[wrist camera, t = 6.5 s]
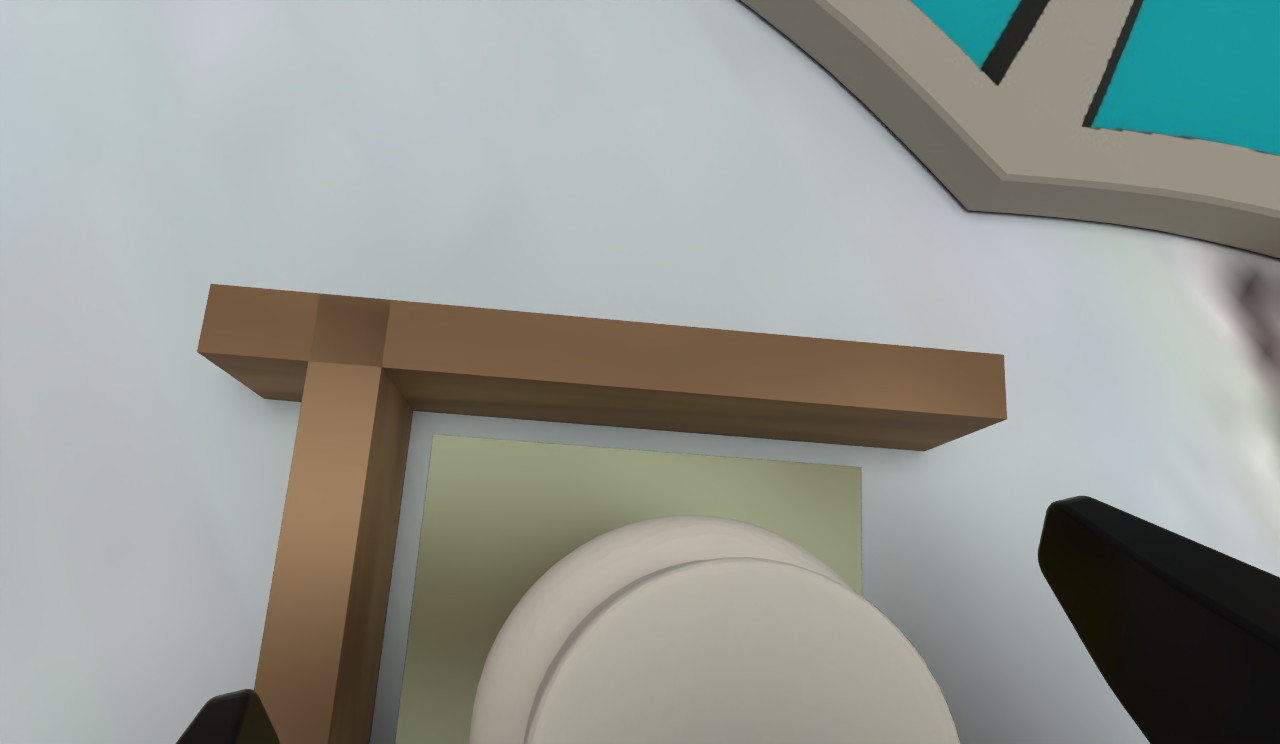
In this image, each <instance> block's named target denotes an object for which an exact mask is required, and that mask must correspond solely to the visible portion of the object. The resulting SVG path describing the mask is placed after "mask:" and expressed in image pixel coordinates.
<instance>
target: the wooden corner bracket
mask: <svg viewBox="0 0 1280 744" xmlns="http://www.w3.org/2000/svg"><path fill="white" fill-rule="evenodd" d="M197 352H198V353H200V354H201V355H202V356H204V357H205V358H207V359H208V360H210V361H211V362H212V363H214V364H215V365H217V366H218V367H220V368H221V369H222V370H224V371H225V372H227V373H228V374H230V375H231V376H233V377H234V378H235V379H237V380H238V381H240V382H241V383H243V384H244V385H245V386H247V387H248V388H250V389H251V390H253V391H254V392H255V393H257V394H258V395H260V396H261V397H263V398H264V399H275V400H287V401H300V402H302V404H301V410H300V416H299V422H298V428H297V434H296V440H295V446H294V452H293V458H292V464H291V470H290V476H289V482H288V488H287V494H286V500H285V506H284V512H283V518H282V524H281V530H280V536H279V542H278V548H277V554H276V560H275V566H274V572H273V578H272V584H271V590H270V597H269V603H268V609H267V615H266V621H265V627H264V633H263V639H262V645H261V651H260V657H259V663H258V669H257V675H256V681H255V687H254V691H255V692H256V693H257V694H258V696H259V697H260V699H261V702H262V704H263V706H264V708H265V710H266V712H267V714H268V716H269V718H270V720H271V723H272V725H273V727H274V729H275V731H276V733H277V735H278V738H279V741H280V744H369V742H370V735H371V727H372V719H373V712H374V704H375V697H376V689H377V681H378V674H379V666H380V658H381V651H382V643H383V636H384V628H385V620H386V613H387V605H388V597H389V590H390V582H391V575H392V567H393V559H394V552H395V544H396V537H397V529H398V521H399V514H400V506H401V498H402V491H403V483H404V476H405V468H406V460H407V453H408V445H409V438H410V430H411V422H412V415H413V410H414V411H426V412H439V413H451V414H464V415H477V416H489V417H502V418H515V419H527V420H540V421H552V422H565V423H578V424H590V425H603V426H615V427H628V428H641V429H653V430H666V431H679V432H691V433H704V434H716V435H729V436H742V437H754V438H767V439H779V440H792V441H805V442H817V443H830V444H842V445H855V446H868V447H880V448H893V449H906V450H918V451H926V450H929V449H932V448H934V447H937V446H939V445H942V444H944V443H947V442H950V441H952V440H955V439H957V438H960V437H962V436H965V435H968V434H970V433H973V432H975V431H978V430H980V429H983V428H986V427H988V426H991V425H993V424H996V423H998V422H1001V421H1003V420H1006V419H1007V410H1006V390H1005V370H1004V355H1000V354H989V353H978V352H966V351H955V350H944V349H933V348H922V347H911V346H899V345H888V344H877V343H866V342H855V341H843V340H832V339H821V338H810V337H799V336H788V335H776V334H765V333H754V332H743V331H732V330H721V329H709V328H698V327H687V326H676V325H665V324H654V323H642V322H631V321H620V320H609V319H598V318H587V317H575V316H564V315H553V314H542V313H531V312H519V311H508V310H497V309H486V308H475V307H464V306H452V305H441V304H430V303H419V302H408V301H397V300H385V299H374V298H363V297H352V296H341V295H330V294H318V293H307V292H296V291H285V290H274V289H263V288H251V287H240V286H229V285H218V284H211V285H210V290H209V295H208V300H207V305H206V310H205V315H204V320H203V325H202V330H201V335H200V340H199V345H198V350H197ZM676 515H702V516H713V517H721V518H728V519H734V520H738V521H742V522H746V523H749V524H752V525H755V526H759V527H762V528H764V529H767V530H770V531H772V532H774V533H776V534H778V535H780V536H783V537H785V538H787V539H788V540H790V541H792V542H794V543H796V544H797V545H799V546H801V547H802V548H804V549H806V550H807V551H809V552H810V553H812V554H813V555H815V556H816V557H818V558H819V559H820V560H822V561H823V562H824V563H825V564H827V565H828V566H829V567H830V568H831V569H833V570H834V571H835V572H836V573H837V574H838V575H839V576H840V577H841V578H842V579H843V580H844V581H845V582H846V583H847V584H848V585H849V586H850V587H851V588H852V589H853V591H854V592H855V593H856V594H858V595H860V596H861V597H862V470H861V467H851V466H838V465H825V464H812V463H799V462H786V461H773V460H760V459H747V458H734V457H721V456H708V455H695V454H682V453H669V452H657V451H644V450H631V449H618V448H605V447H592V446H579V445H566V444H553V443H540V442H527V441H514V440H501V439H488V438H475V437H462V436H449V435H436V434H433V440H432V449H431V457H430V465H429V473H428V481H427V489H426V497H425V505H424V513H423V521H422V529H421V537H420V545H419V553H418V561H417V569H416V577H415V585H414V593H413V602H412V610H411V618H410V626H409V634H408V642H407V650H406V658H405V666H404V674H403V682H402V690H401V698H400V706H399V714H398V722H397V730H396V738H395V744H469V738H470V727H471V719H472V712H473V706H474V701H475V697H476V692H477V688H478V683H479V681H480V678H481V675H482V671H483V668H484V664H485V661H486V659H487V656H488V654H489V652H490V650H491V647H492V645H493V643H494V641H495V639H496V637H497V635H498V633H499V631H500V629H501V628H502V626H503V625H504V623H505V621H506V620H507V618H508V617H509V615H510V613H511V612H512V610H513V609H514V608H515V606H516V605H517V604H518V602H519V601H520V600H521V598H522V597H523V596H524V594H525V593H526V592H527V591H528V590H529V589H530V588H531V587H532V585H533V584H534V583H535V582H536V581H537V580H538V579H539V578H540V577H541V576H542V575H543V574H544V573H546V572H547V571H548V570H549V569H550V568H551V567H552V566H553V565H555V564H556V563H557V562H558V561H559V560H561V559H562V558H563V557H565V556H566V555H568V554H569V553H571V552H572V551H574V550H575V549H577V548H579V547H580V546H582V545H583V544H585V543H587V542H589V541H590V540H592V539H594V538H595V537H597V536H599V535H602V534H604V533H606V532H608V531H611V530H614V529H617V528H620V527H622V526H625V525H628V524H631V523H635V522H639V521H642V520H647V519H653V518H658V517H666V516H676Z"/></svg>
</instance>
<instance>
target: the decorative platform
mask: <svg viewBox="0 0 1280 744" xmlns="http://www.w3.org/2000/svg"><path fill="white" fill-rule="evenodd" d="M740 1H742V2H743V3H744V4H746V5H747V6H748V7H750V8H751V9H752V10H754V11H755V12H756V13H758V14H759V15H760V16H762V17H763V18H764V19H765V20H767V21H768V22H769V23H770V24H772V25H773V26H774V27H776V28H777V29H778V30H779V31H781V32H782V33H783V34H785V35H786V36H787V37H788V38H790V39H791V40H792V41H793V42H795V43H796V44H797V45H798V46H799V47H801V48H802V49H803V50H804V51H805V52H807V53H808V54H809V55H810V56H811V57H813V58H814V59H815V60H816V61H817V62H818V63H820V64H821V65H822V66H823V67H824V68H826V69H827V70H828V71H829V72H830V73H831V74H832V75H834V76H835V77H836V78H837V79H838V80H839V81H840V82H841V83H842V84H843V85H844V86H845V87H847V88H848V89H849V90H850V91H851V92H852V93H853V94H854V95H855V96H856V97H857V98H859V99H860V100H861V101H862V102H863V103H864V104H865V105H866V106H867V107H868V108H869V109H870V110H871V111H872V112H873V113H874V114H875V115H876V116H877V117H878V118H879V119H880V120H881V121H882V122H883V123H884V124H885V125H886V126H887V127H888V128H889V129H890V130H891V131H892V132H893V133H894V134H895V135H896V136H897V137H898V138H899V139H900V140H901V141H902V142H903V143H904V144H905V145H906V146H907V147H908V148H909V149H910V150H911V151H912V152H913V153H914V154H915V155H916V156H917V157H918V158H919V159H920V160H921V161H922V162H923V163H924V165H925V166H926V167H927V168H928V169H929V170H930V171H931V172H932V173H933V174H934V175H935V176H936V177H937V178H938V179H939V180H940V181H941V182H942V183H943V184H944V185H945V187H946V188H947V189H948V190H949V191H950V192H951V193H952V194H953V195H954V196H955V197H956V198H957V199H958V200H959V201H960V202H961V203H962V205H963V206H964V207H965V208H966V209H967V210H973V211H987V212H1000V213H1013V214H1025V215H1037V216H1048V217H1060V218H1069V219H1078V220H1087V221H1096V222H1105V223H1113V224H1120V225H1126V226H1133V227H1140V228H1146V229H1153V230H1159V231H1164V232H1169V233H1174V234H1179V235H1184V236H1189V237H1194V238H1198V239H1203V240H1208V241H1212V242H1216V243H1220V244H1224V245H1228V246H1233V247H1237V248H1241V249H1245V250H1249V251H1253V252H1257V253H1261V254H1264V255H1268V256H1272V257H1276V258H1280V0H740Z"/></svg>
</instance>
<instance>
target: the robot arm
mask: <svg viewBox="0 0 1280 744" xmlns="http://www.w3.org/2000/svg"><path fill="white" fill-rule="evenodd" d="M1038 561H1039V566H1040V568H1041V571H1042V573H1043V575H1044V577H1045V579H1046V580H1047V582H1048V584H1049V586H1050V587H1051V589H1052V591H1053V592H1054V594H1055V596H1056V597H1057V599H1058V601H1059V603H1060V604H1061V606H1062V608H1063V609H1064V611H1065V613H1066V615H1067V616H1068V618H1069V620H1070V621H1071V623H1072V625H1073V626H1074V628H1075V630H1076V632H1077V633H1078V635H1079V637H1080V638H1081V640H1082V642H1083V644H1084V645H1085V647H1086V649H1087V650H1088V652H1089V654H1090V656H1091V657H1092V659H1093V661H1094V662H1095V664H1096V666H1097V667H1098V669H1099V671H1100V672H1101V674H1102V675H1103V677H1104V679H1105V680H1106V682H1107V683H1108V685H1109V686H1110V688H1111V689H1112V691H1113V692H1114V694H1115V695H1116V697H1117V698H1118V699H1119V701H1120V702H1121V704H1122V705H1123V707H1124V708H1125V709H1126V711H1127V712H1128V713H1129V715H1130V716H1131V718H1132V719H1133V720H1134V722H1135V723H1136V724H1137V726H1138V727H1139V729H1140V730H1141V731H1142V733H1143V734H1144V735H1145V737H1146V738H1147V740H1148V741H1149V742H1150V744H1280V577H1277V576H1275V575H1272V574H1270V573H1268V572H1265V571H1263V570H1261V569H1258V568H1256V567H1254V566H1251V565H1249V564H1247V563H1244V562H1242V561H1240V560H1237V559H1235V558H1232V557H1230V556H1228V555H1225V554H1223V553H1221V552H1218V551H1216V550H1214V549H1211V548H1209V547H1207V546H1204V545H1202V544H1200V543H1197V542H1195V541H1192V540H1190V539H1188V538H1185V537H1183V536H1181V535H1178V534H1176V533H1174V532H1171V531H1169V530H1167V529H1164V528H1162V527H1159V526H1157V525H1155V524H1152V523H1150V522H1148V521H1145V520H1143V519H1141V518H1138V517H1136V516H1134V515H1131V514H1129V513H1127V512H1124V511H1122V510H1119V509H1117V508H1115V507H1112V506H1110V505H1108V504H1105V503H1103V502H1101V501H1098V500H1096V499H1094V498H1091V497H1088V496H1076V497H1072V498H1067V499H1063V500H1059V501H1055V502H1053V503H1051V505H1050V506H1049V507H1048V509H1047V511H1046V516H1045V520H1044V525H1043V530H1042V534H1041V539H1040V544H1039V549H1038ZM176 744H280V741H279V738H278V735H277V733H276V731H275V729H274V727H273V725H272V723H271V720H270V718H269V716H268V714H267V712H266V710H265V708H264V706H263V704H262V702H261V699H260V697H259V696H258V694H257V693H256V692H255V691H254V690H251V689H245V690H240V691H236V692H232V693H227V694H223V695H219V696H215V697H213V698H212V699H210V700H209V701H208V702H207V703H206V704H205V705H204V706H203V708H202V709H201V710H200V712H199V713H198V714H197V716H196V717H195V718H194V720H193V721H192V722H191V724H190V725H189V726H188V728H187V729H186V730H185V732H184V733H183V734H182V736H181V737H180V738H179V740H178V741H177V742H176Z"/></svg>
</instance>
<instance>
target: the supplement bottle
mask: <svg viewBox="0 0 1280 744" xmlns="http://www.w3.org/2000/svg"><path fill="white" fill-rule="evenodd" d="M469 744H960V740H959V737H958V733H957V730H956V726H955V723H954V721H953V718H952V716H951V713H950V710H949V707H948V705H947V703H946V700H945V698H944V696H943V694H942V691H941V689H940V687H939V685H938V683H937V682H936V680H935V678H934V677H933V675H932V674H931V672H930V670H929V668H928V667H927V665H926V663H925V661H924V660H923V659H922V657H921V656H920V655H919V653H918V652H917V650H916V649H915V648H914V646H913V645H912V644H911V642H910V641H909V640H908V639H907V638H906V637H905V636H904V634H903V633H902V632H901V631H900V630H899V629H898V628H897V627H896V626H895V625H894V624H893V623H892V622H891V621H890V620H889V619H888V618H887V617H886V616H885V615H884V614H883V613H882V612H881V611H880V610H879V609H877V608H876V607H875V606H873V605H872V604H871V603H869V602H868V601H867V600H865V599H864V598H863V597H861V596H860V595H858V594H856V593H855V592H854V591H853V589H852V588H851V587H850V586H849V585H848V584H847V583H846V582H845V581H844V580H843V579H842V578H841V577H840V576H839V575H838V574H837V573H836V572H835V571H834V570H833V569H831V568H830V567H829V566H828V565H827V564H825V563H824V562H823V561H822V560H820V559H819V558H818V557H816V556H815V555H813V554H812V553H810V552H809V551H807V550H806V549H804V548H802V547H801V546H799V545H797V544H796V543H794V542H792V541H790V540H788V539H787V538H785V537H783V536H780V535H778V534H776V533H774V532H772V531H770V530H767V529H764V528H762V527H759V526H755V525H752V524H749V523H746V522H742V521H738V520H734V519H728V518H721V517H713V516H702V515H676V516H666V517H658V518H653V519H647V520H642V521H639V522H635V523H631V524H628V525H625V526H622V527H620V528H617V529H614V530H611V531H608V532H606V533H604V534H602V535H599V536H597V537H595V538H594V539H592V540H590V541H589V542H587V543H585V544H583V545H582V546H580V547H579V548H577V549H575V550H574V551H572V552H571V553H569V554H568V555H566V556H565V557H563V558H562V559H561V560H559V561H558V562H557V563H556V564H555V565H553V566H552V567H551V568H550V569H549V570H548V571H547V572H546V573H544V574H543V575H542V576H541V577H540V578H539V579H538V580H537V581H536V582H535V583H534V584H533V585H532V587H531V588H530V589H529V590H528V591H527V592H526V593H525V594H524V596H523V597H522V598H521V600H520V601H519V602H518V604H517V605H516V606H515V608H514V609H513V610H512V612H511V613H510V615H509V617H508V618H507V620H506V621H505V623H504V625H503V626H502V628H501V629H500V631H499V633H498V635H497V637H496V639H495V641H494V643H493V645H492V647H491V650H490V652H489V654H488V656H487V659H486V661H485V664H484V668H483V671H482V675H481V678H480V681H479V683H478V688H477V692H476V697H475V701H474V706H473V712H472V719H471V727H470V738H469Z"/></svg>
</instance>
